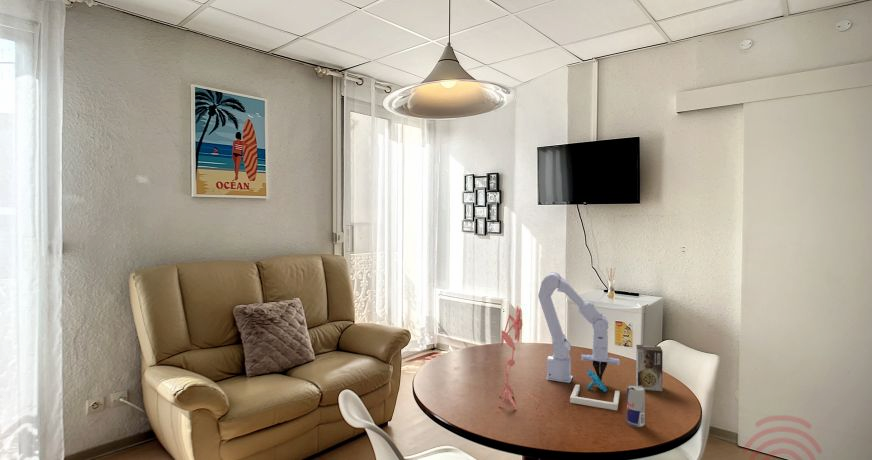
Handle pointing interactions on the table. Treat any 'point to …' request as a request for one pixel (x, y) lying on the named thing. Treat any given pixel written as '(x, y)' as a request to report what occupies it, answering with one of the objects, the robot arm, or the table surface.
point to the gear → (596, 381)
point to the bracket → (593, 402)
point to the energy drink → (635, 406)
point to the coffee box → (649, 367)
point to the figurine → (517, 326)
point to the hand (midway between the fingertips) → (599, 379)
